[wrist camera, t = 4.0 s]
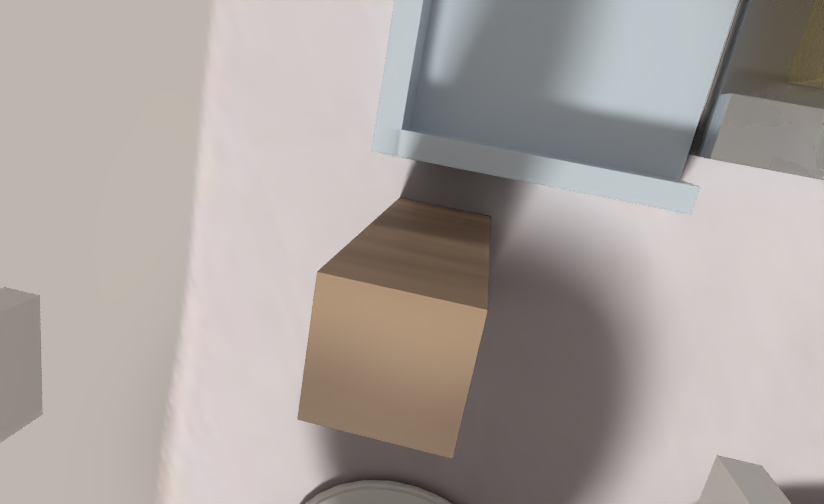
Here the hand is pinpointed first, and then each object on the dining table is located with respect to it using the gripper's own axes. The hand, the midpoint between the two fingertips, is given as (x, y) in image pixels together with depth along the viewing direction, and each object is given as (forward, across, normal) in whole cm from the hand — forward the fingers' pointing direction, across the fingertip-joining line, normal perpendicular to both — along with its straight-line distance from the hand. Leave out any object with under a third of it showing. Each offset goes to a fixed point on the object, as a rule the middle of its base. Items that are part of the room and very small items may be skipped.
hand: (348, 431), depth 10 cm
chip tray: (+14, +3, +11) cm, 18 cm away
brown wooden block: (+14, 0, 0) cm, 14 cm away
